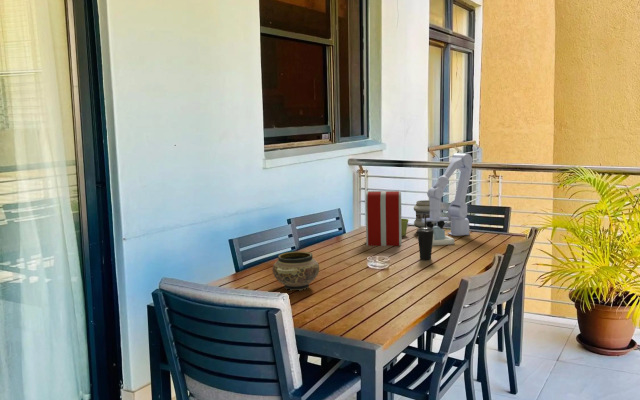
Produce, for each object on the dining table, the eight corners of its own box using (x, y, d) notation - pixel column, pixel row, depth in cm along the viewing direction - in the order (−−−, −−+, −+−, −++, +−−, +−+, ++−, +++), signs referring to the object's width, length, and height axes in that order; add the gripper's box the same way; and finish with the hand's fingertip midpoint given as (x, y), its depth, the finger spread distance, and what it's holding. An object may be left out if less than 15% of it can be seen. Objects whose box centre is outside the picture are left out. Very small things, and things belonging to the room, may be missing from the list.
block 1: (437, 237, 319) (437, 226, 318) (440, 238, 315) (440, 227, 314) (430, 237, 318) (430, 226, 317) (433, 238, 314) (433, 227, 313)
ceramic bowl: (295, 284, 244) (286, 249, 243) (334, 277, 236) (324, 241, 236) (266, 302, 221) (256, 263, 221) (307, 294, 214) (297, 254, 213)
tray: (442, 238, 315) (442, 233, 314) (454, 243, 300) (454, 239, 300) (421, 239, 312) (421, 235, 312) (432, 245, 298) (432, 240, 297)
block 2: (441, 240, 306) (441, 228, 305) (444, 241, 302) (444, 229, 301) (434, 240, 305) (434, 229, 304) (437, 242, 301) (437, 230, 300)
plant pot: (410, 236, 321) (409, 221, 320) (392, 237, 322) (392, 221, 321) (407, 233, 331) (407, 218, 330) (390, 234, 331) (390, 218, 330)
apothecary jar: (410, 232, 335) (409, 200, 333) (429, 230, 339) (429, 199, 336) (419, 235, 324) (419, 203, 321) (439, 234, 327) (439, 201, 325)
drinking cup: (434, 261, 265) (433, 217, 262) (416, 261, 266) (416, 217, 264) (434, 257, 272) (434, 214, 270) (417, 257, 274) (417, 214, 271)
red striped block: (401, 245, 299) (400, 192, 296) (366, 245, 302) (365, 193, 299) (401, 239, 316) (401, 188, 312) (368, 239, 318) (367, 189, 315)
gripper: (425, 212, 309) (425, 237, 311) (451, 210, 312) (451, 235, 314) (420, 210, 316) (420, 235, 318) (445, 208, 319) (445, 233, 321)
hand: (435, 235), depth 316 cm, fingers closed on block 1, 4 cm apart
